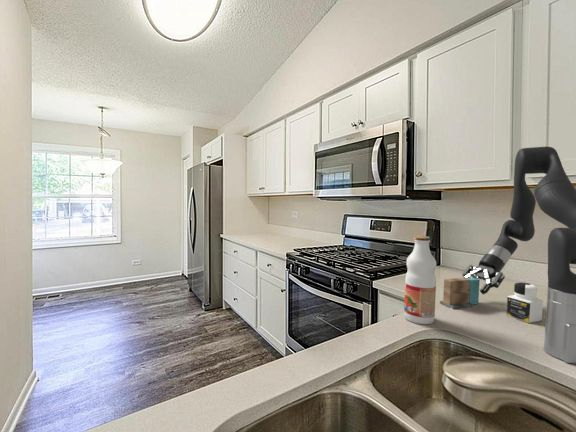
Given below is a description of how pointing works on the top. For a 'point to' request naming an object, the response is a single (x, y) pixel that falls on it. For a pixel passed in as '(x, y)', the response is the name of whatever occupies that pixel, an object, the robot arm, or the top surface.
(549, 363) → the top surface
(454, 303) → the brown block
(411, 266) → the fruit juice
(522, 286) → the medicine bottle
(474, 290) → the teal block
